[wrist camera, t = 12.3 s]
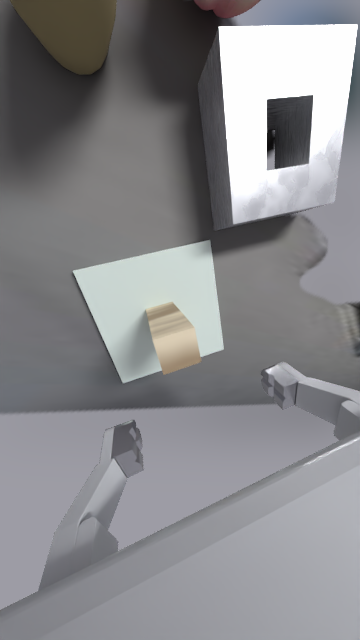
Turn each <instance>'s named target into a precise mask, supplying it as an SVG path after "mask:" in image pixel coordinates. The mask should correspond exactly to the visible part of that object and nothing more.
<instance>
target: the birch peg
mask: <svg viewBox="0 0 360 640" xmlns="http://www.w3.org/2000/svg"><path fill="white" fill-rule="evenodd" d="M146 313H147V317H148V322H149V326H150V331H151V335H152V340H153V343H154V346H155V349H156V353H157V356H158V359H159V362H160V365H161V368H162V372H163V375H165V374H168V373H171V372H174V371H176V370H179V369H182V368H185V367H188V366H191V365H194V364H197V363H200V362H201V357H200V352H199V347H198V342H197V337H196V332H195V327H194V326H193V325H192V324H191V322H190V321H189V320H188V319H187V318H186V317H185V316H184V314H183V313H182V312H181V311H180V310H179V309H178V308H177V306H176V305H175V304H174V303H173V302H169V303H166V304H162V305H159V306H155V307H151V308H148V309H146Z"/></svg>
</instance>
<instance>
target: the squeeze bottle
mask: <svg viewBox="0 0 360 640" xmlns="http://www.w3.org/2000/svg"><path fill="white" fill-rule="evenodd" d="M10 2H11V4H12V5H13V7H14V8H15V10H16V12H17V13H18V14H19V15H20V17H21V18H22V19H23V21H24V22H25V23H26V24H27V26H28V27H29V28H30V29H31V31H32V32H33V33H34V34H35V36H36V37H37V38H38V39H39V41H40V42H41V43H42V45H43V46H44V47H45V48H46V50H47V51H48V52H49V53H50V54H51V55H52V56H53V57H54V58H55V59H56V60H57V61H58V62H59V63H60V64H61V65H62V66H63V67H64V68H66V69H68V70H70V71H72V72H74V73H76V74H92V73H94V72H95V71H97V70H98V69H100V68H101V66H102V64H103V62H104V60H105V58H106V56H107V53H108V48H109V44H110V39H111V35H112V30H113V26H114V21H115V16H116V2H117V0H10Z"/></svg>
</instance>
